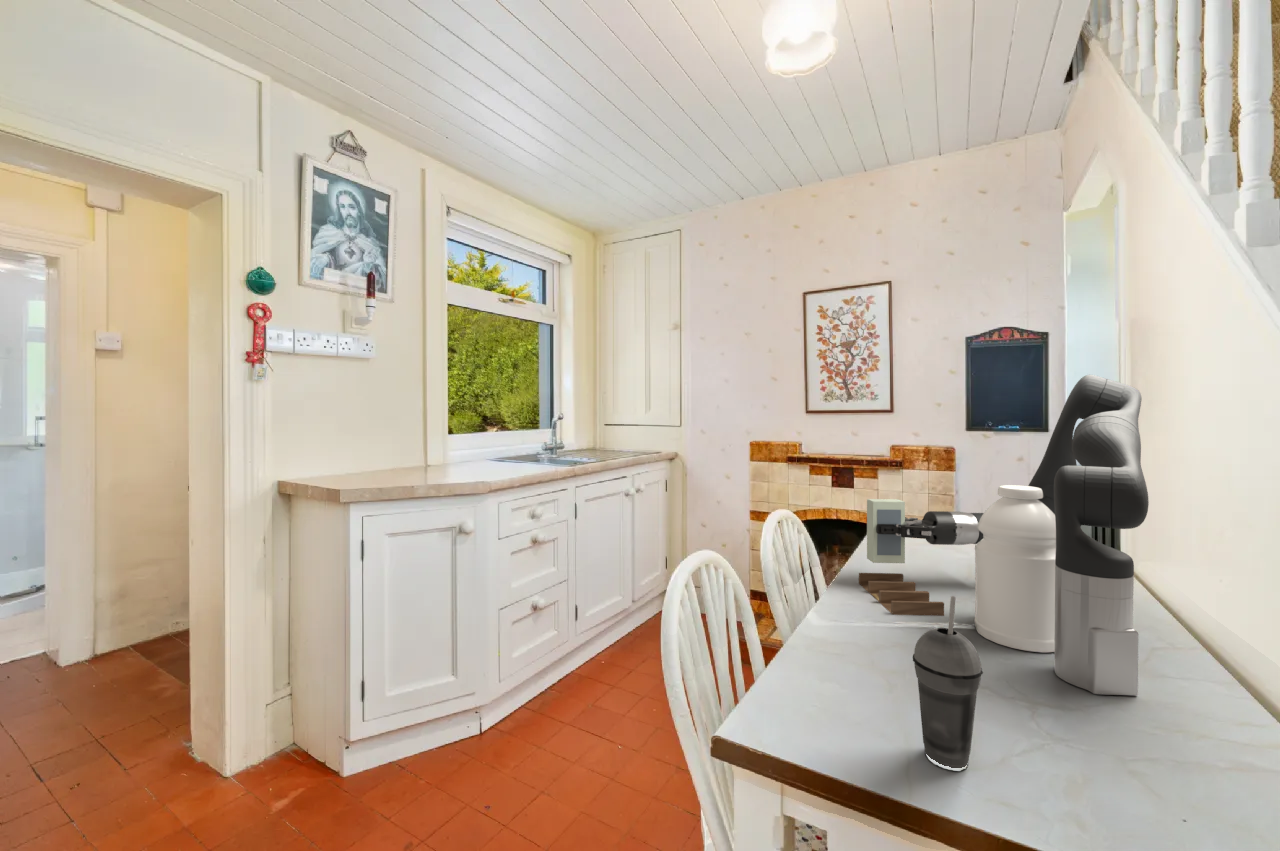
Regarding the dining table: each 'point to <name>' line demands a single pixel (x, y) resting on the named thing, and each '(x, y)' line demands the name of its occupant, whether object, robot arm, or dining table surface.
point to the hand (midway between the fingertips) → (873, 527)
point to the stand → (899, 595)
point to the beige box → (885, 545)
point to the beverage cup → (947, 692)
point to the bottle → (1016, 571)
